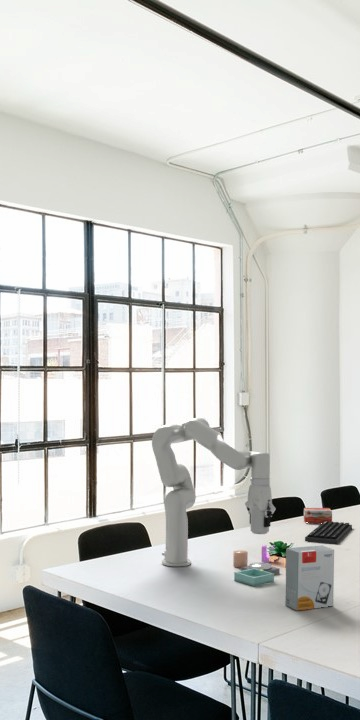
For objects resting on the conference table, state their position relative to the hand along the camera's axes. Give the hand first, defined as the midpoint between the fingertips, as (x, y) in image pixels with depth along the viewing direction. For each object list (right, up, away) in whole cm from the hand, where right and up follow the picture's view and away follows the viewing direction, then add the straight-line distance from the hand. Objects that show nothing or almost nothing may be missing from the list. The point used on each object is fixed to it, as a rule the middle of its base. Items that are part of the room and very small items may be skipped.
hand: (259, 525), depth 296 cm
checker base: (0, -20, 0) cm, 20 cm away
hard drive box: (+12, -18, -45) cm, 50 cm away
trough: (-4, -19, -13) cm, 24 cm away
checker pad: (0, -18, 0) cm, 18 cm away
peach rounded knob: (-7, -20, +11) cm, 24 cm away
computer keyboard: (+45, -24, +81) cm, 96 cm away
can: (0, -3, 0) cm, 3 cm away
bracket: (+8, -21, +25) cm, 34 cm away
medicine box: (+46, -25, +115) cm, 126 cm away
